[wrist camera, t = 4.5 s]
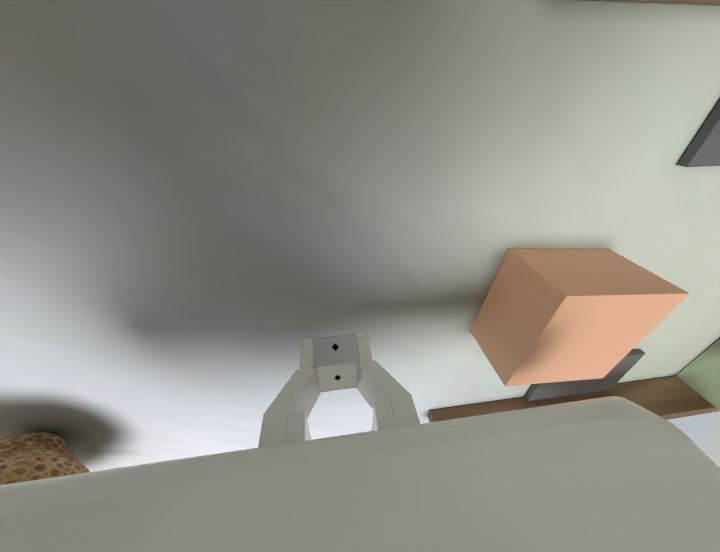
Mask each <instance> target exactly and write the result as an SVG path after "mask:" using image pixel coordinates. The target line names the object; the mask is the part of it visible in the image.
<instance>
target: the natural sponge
mask: <svg viewBox="0 0 720 552" xmlns="http://www.w3.org/2000/svg"><path fill="white" fill-rule="evenodd" d="M88 472H90V471H89V470H88V469H87V468H86V467H85V466H84V465H82V464H81V463H79V462H78V461H77V460H75V459H74V458H73V455H72V452H71V450H70V448H69V446H68V444H67V443H66V442H65V441H64V440H63V439H62V438H61V437H60V436H59V435H56V434H53V433H48V432H35V433H24V434H18V435H14V436H10V437H6V438H2V439H0V485H4V484H11V483H18V482H25V481H32V480H39V479H46V478H53V477H60V476H67V475H74V474H81V473H88Z"/></svg>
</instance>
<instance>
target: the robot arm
mask: <svg viewBox="0 0 720 552" xmlns="http://www.w3.org/2000/svg"><path fill="white" fill-rule="evenodd" d="M348 388H357V389H358V390H359V392H360V393H361V394H362V395H363V397H364V398H365V399H366V401H367V402H368V403H369V405H370V406H371V407H372V408H373V424H372V431H369V432H362V433H355V434H348V435H342V436H335V437H328V438H321V439H314V440H311V436H310V431H309V427H308V423H307V418H308V416H309V414H310V412H311V410H312V408H313V406H314V404H315V403H316V401H317V399H318V397H319V395H320V392H325V391H332V390H338V389H348ZM0 552H720V468H719V467H718V466H717V465H716V464H715V463H714V462H713V461H712V460H711V459H710V458H709V457H708V456H707V455H706V454H705V453H704V452H703V451H702V450H701V449H700V448H699V447H698V446H697V445H696V444H695V443H694V442H693V441H692V440H691V439H690V438H689V437H688V436H687V435H685V434H684V433H683V432H682V431H681V430H680V429H678V428H677V427H676V426H675V425H673V424H672V423H670V422H669V421H667V420H665V419H663V418H662V417H660V416H658V415H656V414H654V413H652V412H651V411H649V410H647V409H645V408H643V407H641V406H639V405H637V404H635V403H633V402H631V401H629V400H627V399H625V398H622V397H617V396H610V397H602V398H595V399H588V400H581V401H575V402H568V403H561V404H554V405H547V406H540V407H534V408H527V409H520V410H513V411H506V412H499V413H493V414H486V415H479V416H472V417H465V418H458V419H451V420H445V421H438V422H431V423H424V424H420V422H419V418H418V415H417V412H416V409H415V406H414V402H413V399H412V396H411V394H410V393H409V392H408V391H407V390H406V389H404V388H403V387H402V386H401V385H400V384H399V383H398V382H397V381H396V380H395V379H394V378H393V377H392V376H391V375H390V374H389V373H388V372H387V371H386V370H385V369H384V368H382V367H381V366H380V365H379V364H378V363H377V362H376V361H372V357H371V352H370V347H369V342H368V338H367V334H366V333H358V334H348V335H339V336H333V337H320V338H309V339H302V342H301V358H300V370H296V371H295V373H294V374H293V375H292V377H291V378H290V380H289V381H288V382H287V384H286V385H285V386H284V388H283V389H282V390H281V392H280V393H279V394H278V396H277V397H276V398H275V400H274V401H273V402H272V404H271V405H270V406H269V408H268V409H267V410H266V412H265V413H264V415H263V421H262V427H261V433H260V440H259V446H258V448H253V449H246V450H239V451H232V452H225V453H218V454H212V455H205V456H198V457H191V458H184V459H177V460H170V461H163V462H157V463H150V464H143V465H136V466H129V467H122V468H115V469H108V470H101V471H95V472H88V473H81V474H74V475H67V476H60V477H53V478H46V479H39V480H32V481H25V482H18V483H11V484H4V485H0Z"/></svg>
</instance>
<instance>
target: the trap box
mask: <svg viewBox="0 0 720 552" xmlns="http://www.w3.org/2000/svg"><path fill="white" fill-rule="evenodd" d="M593 1H620V2H646V3H673V4H700V5H720V0H593ZM677 165H680V166H685V167H700V166H720V100H719V102H718V103H717V105H716V106H715V108H714V109H713V111H712V112H711V114H710V115H709V117H708V118H707V120H706V121H705V123H704V125H703V126H702V128H701V129H700V131H699V132H698V134H697V135H696V137H695V138H694V140H693V141H692V143H691V144H690V146H689V147H688V149H687V150H686V152H685V153H684V155H683V156H682V158H681V159H680V161H679V162H678V164H677ZM644 354H645V353H644V352H643V351H642V350H641V349H638V350H631V351H630V352H629V353H628V354H627V355H626V356H625V357H624V358H623V359H622V360H621V361H620V362H619V363H618V364H617V365H616V366H615V367H614V368H613V369H612V370H611V371H610V372H609V373H608V374H607V375H606V376H605V377H604V378H599V379H587V380H575V381H563V382H550V383H538V384H532V386H531V387H530V389H529V390H528V392H527V393H526V395H525V396H524V397H521V398H514V399H507V400H500V401H493V402H486V403H479V404H471V405H464V406H457V407H450V408H443V409H436V410H429V414H428V419H429V422H430V423H431V422H438V421H445V420H451V419H458V418H465V417H472V416H479V415H486V414H493V413H499V412H506V411H513V410H520V409H527V408H534V407H540V406H547V405H554V404H561V403H568V402H575V401H581V400H588V399H595V398H602V397H610V396H617V397H622V398H625V399H627V400H629V401H631V402H633V403H635V404H637V405H639V406H641V407H643V408H645V409H647V410H649V411H651V412H652V413H654V414H656V415H658V416H660V417H662V418H663V419H665V420H667V419H674V418H680V417H686V416H692V415H698V414H705V413H711V412H717V411H720V338H719V339H718V340H717V341H716V342H715V343H714V344H712V345H711V346H710V347H709V348H708V349H706V350H705V351H704V352H703V353H702V354H701V355H699V356H698V357H697V358H696V359H695V360H694V361H692V362H691V363H690V364H689V365H688V366H687V367H685V368H684V369H683V370H682V371H681V372H680V373H678V374H677V375H676V376H670V377H662V378H655V379H648V380H641V381H634V382H627V383H620V384H616V383H617V382H618V381H619V380H620V379H621V378H622V377H623V376H624V375H625V374H626V373H627V372H628V371H629V370H630V369H631V368H632V367H633V366H634V365H635V364H636V363H637V361H638V360H639V359H640V358H641V357H642V356H643V355H644Z"/></svg>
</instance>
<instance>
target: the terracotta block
mask: <svg viewBox="0 0 720 552" xmlns="http://www.w3.org/2000/svg"><path fill="white" fill-rule="evenodd" d="M688 294H689V293H688V292H686V291H684V290H682V289H680V288H678V287H677V286H675V285H673V284H671V283H669V282H668V281H666V280H664V279H662V278H660V277H659V276H657V275H655V274H653V273H651V272H649V271H648V270H646V269H644V268H642V267H640V266H639V265H637V264H635V263H633V262H631V261H630V260H628V259H626V258H624V257H622V256H621V255H619V254H617V253H615V252H613V251H611V250H610V249H555V248H509V249H508V251H507V253H506V256H505V258H504V260H503V262H502V264H501V266H500V268H499V271H498V273H497V275H496V277H495V279H494V281H493V284H492V286H491V288H490V290H489V292H488V294H487V296H486V299H485V301H484V303H483V305H482V307H481V309H480V312H479V314H478V316H477V318H476V320H475V322H474V324H473V327H472V329H471V331H470V332H471V333H472V335H473V336H474V338H475V339H476V341H477V343H478V344H479V346H480V347H481V349H482V350H483V352H484V354H485V355H486V357H487V358H488V360H489V362H490V363H491V365H492V366H493V368H494V369H495V371H496V373H497V374H498V376H499V377H500V379H501V381H502V382H503V384H504V385H505V386H514V385H526V384H538V383H550V382H563V381H575V380H587V379H599V378H604V377H605V376H606V375H607V374H608V373H609V372H610V371H611V370H612V369H613V368H614V367H615V366H616V365H617V364H618V363H619V362H620V361H621V360H622V359H623V358H624V357H625V356H626V355H627V354H628V353H629V352H630V351H631V350H632V349H633V348H634V347H635V346H636V345H637V344H638V343H639V342H640V341H641V340H642V339H643V338H644V337H645V336H646V335H647V334H649V333H650V332H651V331H652V330H653V329H654V328H655V327H656V326H657V325H658V324H659V323H660V322H661V321H662V320H663V319H664V318H665V317H666V316H667V315H668V314H669V313H670V312H671V311H672V310H673V309H674V308H675V307H676V306H677V305H678V304H679V303H680V302H681V301H682V300H683V299H684V298H685V297H686V296H687V295H688Z"/></svg>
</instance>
